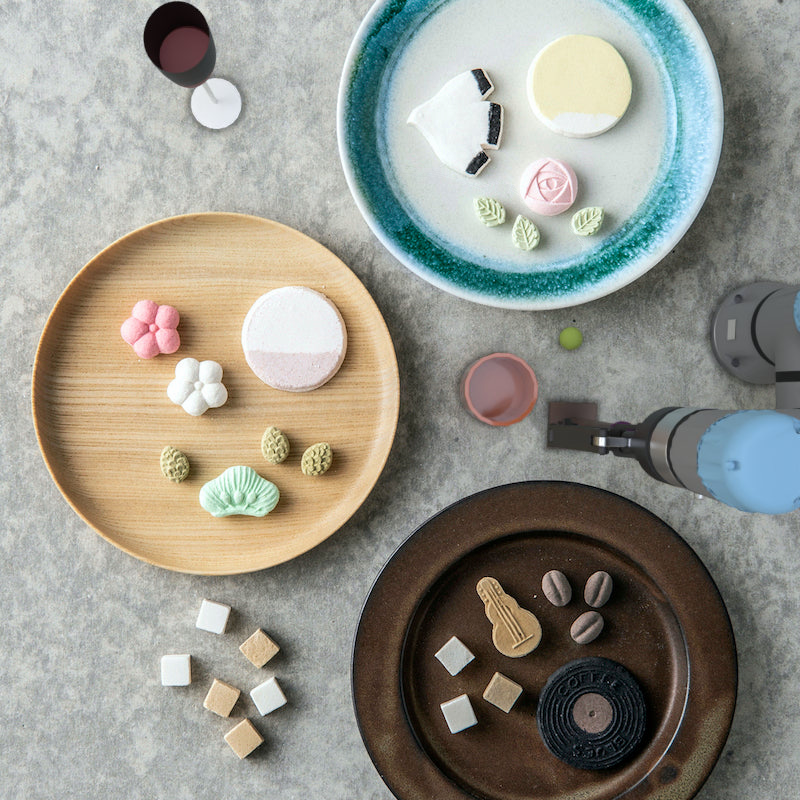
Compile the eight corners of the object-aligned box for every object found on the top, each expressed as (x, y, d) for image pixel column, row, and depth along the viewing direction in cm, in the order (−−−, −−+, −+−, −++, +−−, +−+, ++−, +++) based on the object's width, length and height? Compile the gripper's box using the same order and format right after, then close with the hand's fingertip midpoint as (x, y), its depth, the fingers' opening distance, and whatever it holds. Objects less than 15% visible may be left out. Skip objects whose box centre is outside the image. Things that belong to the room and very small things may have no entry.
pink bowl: (528, 357, 108) (539, 354, 100) (525, 424, 108) (536, 427, 100) (460, 354, 108) (466, 351, 100) (458, 422, 108) (463, 424, 100)
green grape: (579, 328, 108) (585, 326, 104) (578, 351, 108) (585, 349, 104) (557, 327, 108) (562, 325, 104) (556, 350, 108) (561, 348, 104)
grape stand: (595, 403, 108) (647, 406, 86) (593, 449, 108) (645, 464, 86) (549, 401, 108) (589, 404, 86) (547, 448, 108) (587, 462, 86)
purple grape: (632, 421, 86) (642, 422, 82) (631, 449, 86) (641, 451, 83) (604, 419, 86) (613, 421, 82) (603, 448, 86) (611, 450, 82)
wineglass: (248, 81, 107) (216, 9, 87) (235, 138, 107) (200, 79, 87) (196, 68, 106) (152, -7, 86) (183, 125, 106) (136, 64, 86)
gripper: (552, 483, 66) (512, 461, 87) (819, 493, 66) (713, 468, 87) (556, 402, 65) (514, 399, 87) (822, 412, 66) (716, 407, 87)
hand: (614, 434), depth 87 cm, fingers open, 12 cm apart
